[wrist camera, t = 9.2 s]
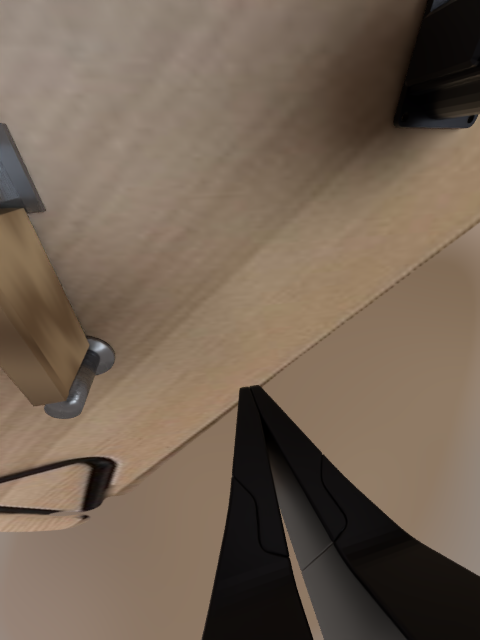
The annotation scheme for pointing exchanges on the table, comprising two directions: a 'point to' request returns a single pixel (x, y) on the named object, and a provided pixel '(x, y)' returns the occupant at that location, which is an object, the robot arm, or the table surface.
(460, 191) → the table surface
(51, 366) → the tan wooden flat block
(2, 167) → the grey stepped block
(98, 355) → the hinge post
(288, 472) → the robot arm
